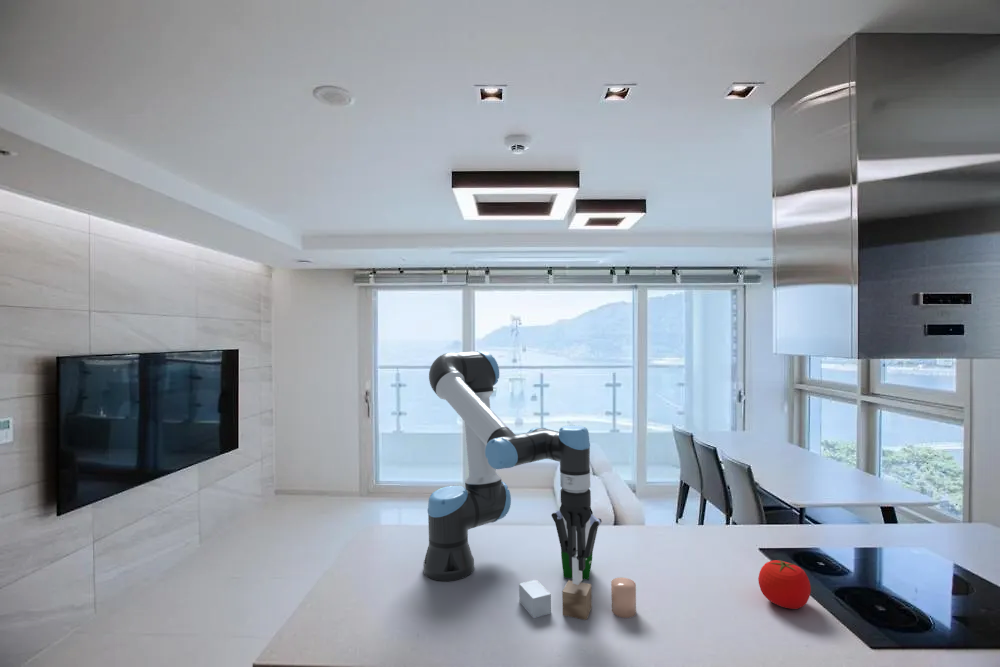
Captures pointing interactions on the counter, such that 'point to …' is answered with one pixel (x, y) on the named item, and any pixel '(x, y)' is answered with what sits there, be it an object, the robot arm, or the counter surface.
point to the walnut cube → (577, 600)
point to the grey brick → (535, 598)
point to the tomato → (784, 584)
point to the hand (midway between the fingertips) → (577, 581)
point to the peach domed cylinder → (623, 597)
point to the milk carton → (565, 557)
